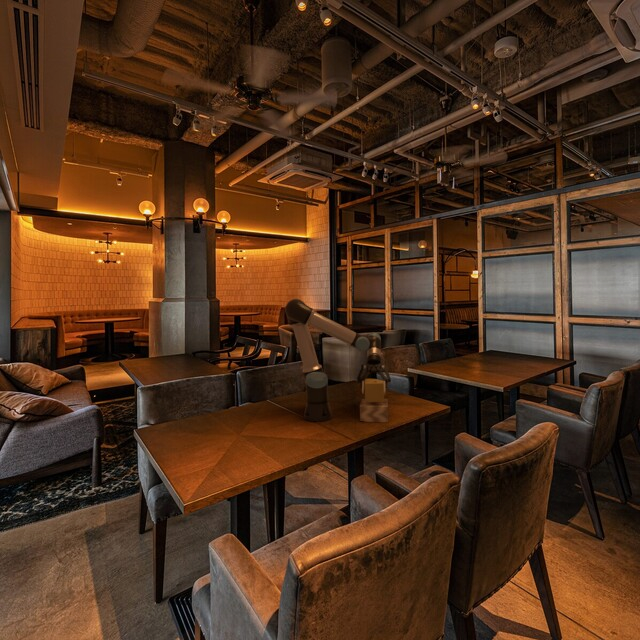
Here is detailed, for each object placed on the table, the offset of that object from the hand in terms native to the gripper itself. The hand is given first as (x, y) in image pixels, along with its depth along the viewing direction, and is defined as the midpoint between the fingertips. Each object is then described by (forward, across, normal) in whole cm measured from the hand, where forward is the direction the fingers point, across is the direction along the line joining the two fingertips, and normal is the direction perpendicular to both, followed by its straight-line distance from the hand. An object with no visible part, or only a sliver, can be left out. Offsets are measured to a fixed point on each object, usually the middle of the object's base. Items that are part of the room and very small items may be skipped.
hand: (373, 392), depth 194 cm
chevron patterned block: (+8, 0, -12) cm, 14 cm away
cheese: (+1, 0, -5) cm, 5 cm away
